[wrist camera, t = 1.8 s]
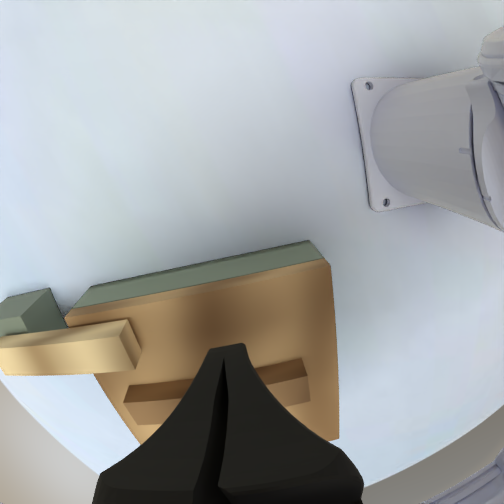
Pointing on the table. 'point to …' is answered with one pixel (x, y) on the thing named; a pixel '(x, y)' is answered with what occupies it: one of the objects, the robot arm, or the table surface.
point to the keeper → (30, 314)
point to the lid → (229, 343)
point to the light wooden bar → (71, 351)
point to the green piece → (201, 273)
